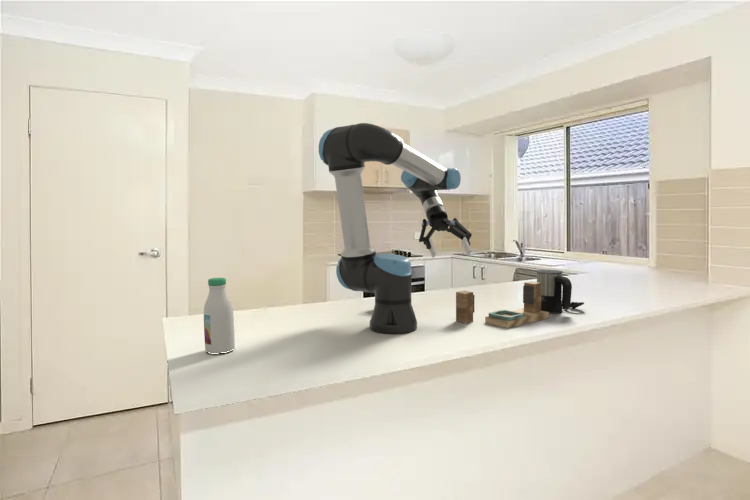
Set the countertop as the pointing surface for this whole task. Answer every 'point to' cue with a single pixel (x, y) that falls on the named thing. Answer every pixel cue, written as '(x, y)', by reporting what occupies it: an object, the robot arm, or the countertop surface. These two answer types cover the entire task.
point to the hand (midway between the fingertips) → (452, 254)
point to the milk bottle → (218, 318)
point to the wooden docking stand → (522, 315)
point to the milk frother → (555, 291)
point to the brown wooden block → (464, 306)
